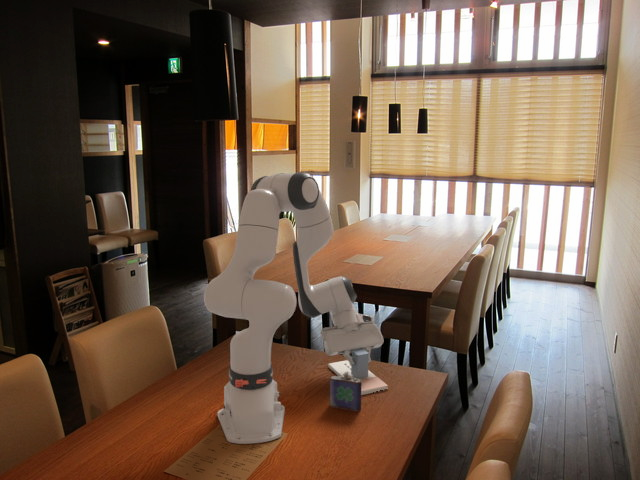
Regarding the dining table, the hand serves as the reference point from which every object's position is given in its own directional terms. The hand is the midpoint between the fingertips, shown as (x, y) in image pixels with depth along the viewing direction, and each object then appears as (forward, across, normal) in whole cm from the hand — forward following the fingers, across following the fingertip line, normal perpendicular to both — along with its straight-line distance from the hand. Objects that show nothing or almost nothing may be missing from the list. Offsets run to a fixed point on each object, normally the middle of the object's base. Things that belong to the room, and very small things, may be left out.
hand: (360, 363), depth 170 cm
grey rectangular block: (+3, 0, +4) cm, 4 cm away
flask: (+14, -12, -5) cm, 19 cm away
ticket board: (+2, 0, +6) cm, 6 cm away
